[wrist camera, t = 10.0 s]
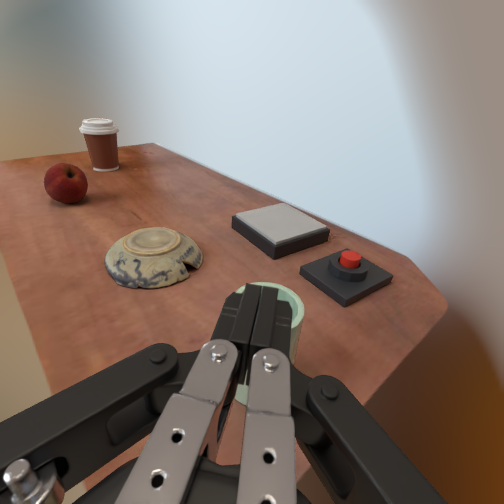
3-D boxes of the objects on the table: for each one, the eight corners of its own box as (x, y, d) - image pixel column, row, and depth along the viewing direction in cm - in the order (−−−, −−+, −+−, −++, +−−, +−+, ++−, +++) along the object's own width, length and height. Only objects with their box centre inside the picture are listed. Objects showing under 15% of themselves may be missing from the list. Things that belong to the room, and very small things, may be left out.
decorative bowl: (132, 231, 55) (79, 279, 42) (129, 212, 53) (73, 257, 41) (213, 243, 54) (184, 297, 41) (213, 224, 52) (183, 274, 39)
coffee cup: (91, 163, 86) (81, 116, 80) (125, 163, 88) (119, 118, 82) (84, 173, 79) (73, 123, 72) (122, 173, 81) (115, 124, 75)
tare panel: (345, 255, 53) (349, 240, 52) (390, 282, 47) (397, 266, 46) (298, 273, 48) (301, 257, 46) (344, 307, 42) (349, 290, 40)
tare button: (347, 257, 48) (349, 248, 47) (362, 265, 46) (365, 257, 45) (335, 262, 46) (337, 253, 45) (350, 271, 44) (352, 262, 44)
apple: (59, 212, 59) (47, 171, 55) (43, 200, 63) (31, 161, 59) (97, 202, 64) (89, 164, 60) (79, 191, 68) (71, 155, 64)
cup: (263, 345, 35) (272, 274, 30) (301, 387, 31) (320, 313, 26) (215, 370, 32) (216, 296, 26) (250, 421, 27) (259, 345, 22)
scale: (282, 214, 66) (284, 201, 64) (327, 241, 57) (331, 226, 56) (231, 227, 59) (232, 213, 58) (273, 259, 50) (275, 244, 49)
